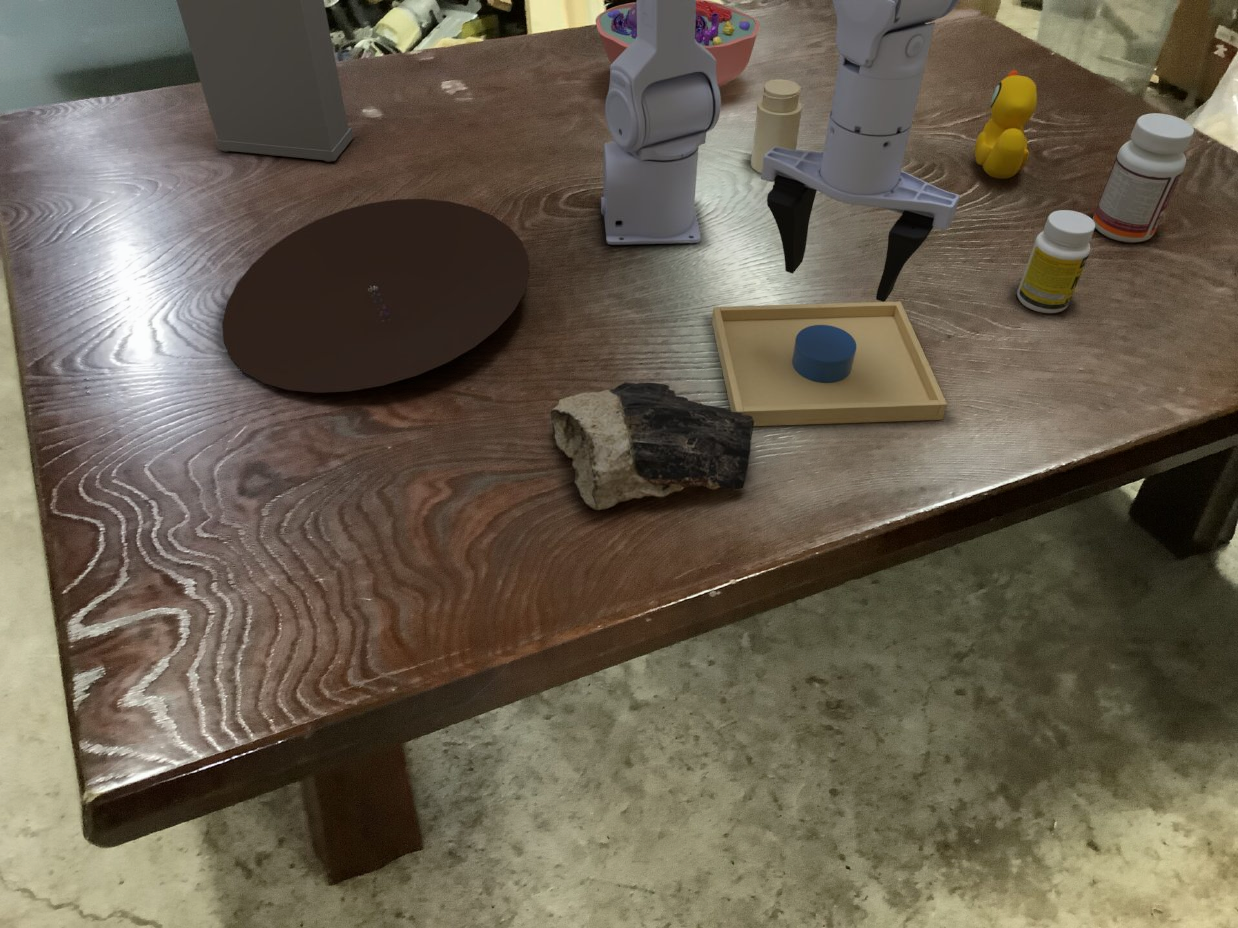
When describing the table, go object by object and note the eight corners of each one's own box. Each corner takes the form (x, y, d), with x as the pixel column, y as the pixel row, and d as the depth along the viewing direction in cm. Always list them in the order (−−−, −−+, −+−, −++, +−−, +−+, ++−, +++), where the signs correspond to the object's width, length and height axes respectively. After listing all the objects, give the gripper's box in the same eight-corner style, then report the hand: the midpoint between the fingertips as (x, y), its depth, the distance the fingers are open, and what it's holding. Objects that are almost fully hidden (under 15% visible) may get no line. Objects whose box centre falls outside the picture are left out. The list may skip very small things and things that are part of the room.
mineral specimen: (535, 365, 75) (715, 316, 78) (547, 435, 80) (715, 386, 83) (587, 472, 66) (788, 412, 69) (596, 543, 71) (783, 485, 74)
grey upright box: (355, 138, 114) (309, -102, 96) (335, 163, 110) (283, -83, 92) (243, 128, 115) (178, -110, 98) (219, 152, 111) (146, -92, 94)
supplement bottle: (1071, 318, 90) (1103, 238, 84) (1018, 311, 91) (1046, 232, 85) (1065, 288, 94) (1096, 210, 88) (1013, 282, 94) (1041, 204, 88)
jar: (755, 176, 108) (764, 97, 102) (746, 155, 112) (755, 78, 106) (797, 174, 109) (809, 95, 103) (788, 154, 112) (799, 76, 106)
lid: (851, 387, 82) (856, 365, 81) (790, 380, 83) (794, 358, 81) (851, 349, 86) (856, 328, 84) (793, 342, 86) (796, 321, 85)
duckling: (967, 142, 115) (991, 57, 108) (1015, 147, 114) (1042, 61, 107) (972, 190, 107) (998, 101, 100) (1023, 195, 106) (1053, 106, 99)
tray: (734, 427, 79) (736, 411, 78) (711, 321, 89) (713, 306, 88) (942, 419, 80) (947, 404, 79) (897, 316, 90) (900, 301, 89)
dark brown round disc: (204, 260, 96) (193, 227, 93) (479, 204, 104) (476, 172, 101) (247, 442, 77) (234, 407, 75) (576, 357, 86) (575, 323, 83)
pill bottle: (1125, 209, 104) (1168, 106, 96) (1166, 238, 100) (1215, 134, 92) (1077, 219, 103) (1117, 115, 95) (1118, 249, 99) (1163, 144, 91)
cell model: (759, 121, 118) (770, 25, 110) (593, 118, 118) (592, 22, 110) (748, 63, 130) (757, -28, 122) (597, 61, 130) (597, -30, 122)
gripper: (988, 119, 69) (941, 282, 78) (796, 74, 74) (774, 232, 83) (960, 161, 64) (914, 328, 74) (758, 110, 69) (739, 272, 79)
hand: (838, 280), depth 78 cm, fingers open, 7 cm apart
